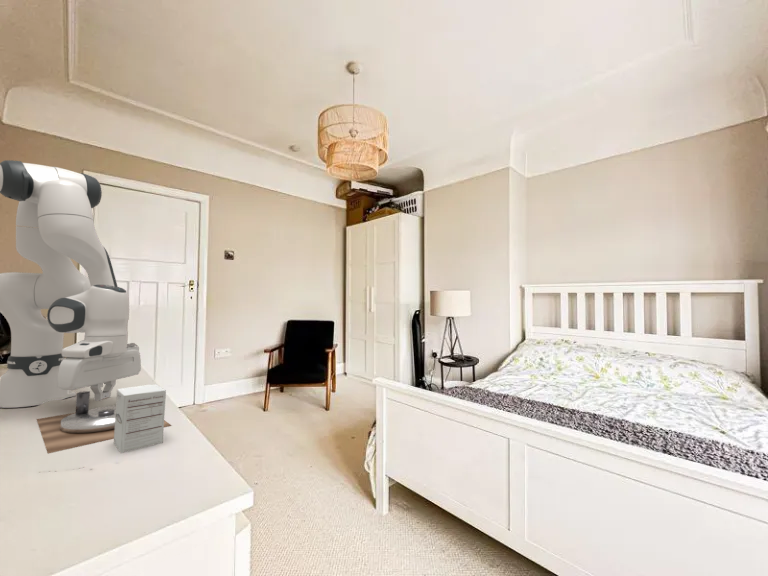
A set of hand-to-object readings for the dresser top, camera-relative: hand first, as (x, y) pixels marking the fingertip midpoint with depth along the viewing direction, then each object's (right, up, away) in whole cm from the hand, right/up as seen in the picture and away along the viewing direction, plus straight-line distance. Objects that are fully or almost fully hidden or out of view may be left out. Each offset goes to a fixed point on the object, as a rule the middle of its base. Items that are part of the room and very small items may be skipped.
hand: (102, 399), depth 87 cm
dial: (+7, -3, -6) cm, 10 cm away
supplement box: (+22, -5, -18) cm, 29 cm away
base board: (+6, -5, -7) cm, 10 cm away
